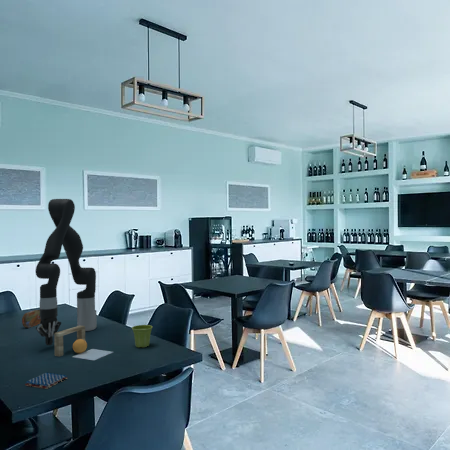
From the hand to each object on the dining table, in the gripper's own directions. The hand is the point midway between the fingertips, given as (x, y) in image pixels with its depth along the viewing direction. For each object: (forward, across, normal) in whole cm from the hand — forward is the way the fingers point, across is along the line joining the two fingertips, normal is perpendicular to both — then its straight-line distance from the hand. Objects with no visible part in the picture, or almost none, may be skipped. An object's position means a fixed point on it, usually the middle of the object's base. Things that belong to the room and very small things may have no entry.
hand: (49, 344), depth 191 cm
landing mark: (+2, 0, -26) cm, 26 cm away
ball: (-2, 0, -19) cm, 19 cm away
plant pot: (+2, +19, -38) cm, 43 cm away
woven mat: (+2, -31, -33) cm, 45 cm away
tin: (+2, +28, +44) cm, 52 cm away
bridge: (+2, 0, -13) cm, 13 cm away
